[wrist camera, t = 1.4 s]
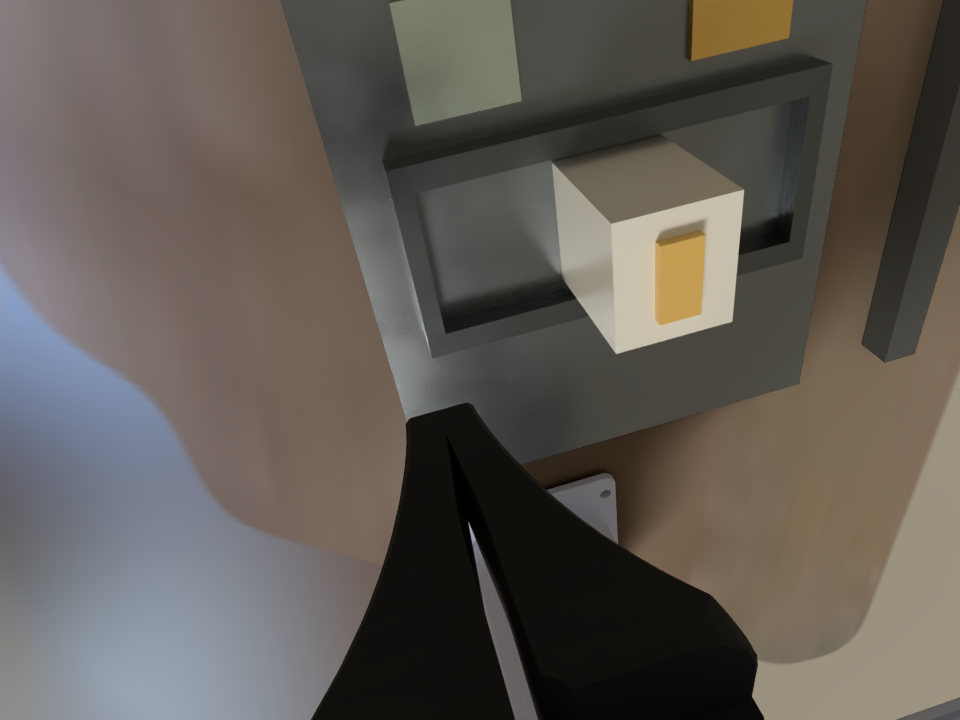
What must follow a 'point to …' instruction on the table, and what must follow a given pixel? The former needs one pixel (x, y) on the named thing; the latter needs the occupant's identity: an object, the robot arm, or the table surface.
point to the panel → (531, 198)
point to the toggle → (648, 240)
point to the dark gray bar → (921, 204)
